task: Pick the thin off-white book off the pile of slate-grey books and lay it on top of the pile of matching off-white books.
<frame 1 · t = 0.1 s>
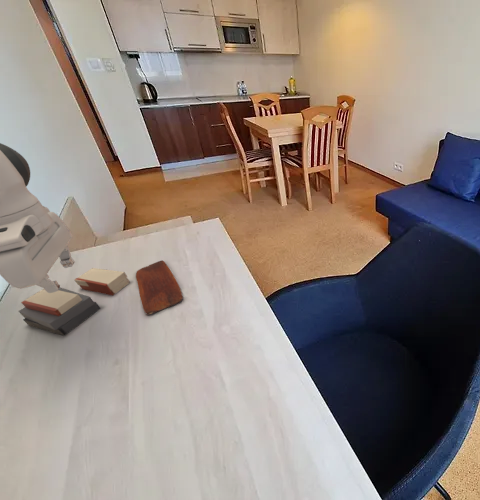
hand: (62, 277, 66), 19 cm above the table, tool pointing down, fingers open, 8 cm apart
white book: (54, 303, 81), point 5 cm above the table, touching grey book pile
grey book pile: (65, 316, 84), on the table
white book pile: (106, 285, 94), on the table
wooden tablet: (158, 285, 93), on the table
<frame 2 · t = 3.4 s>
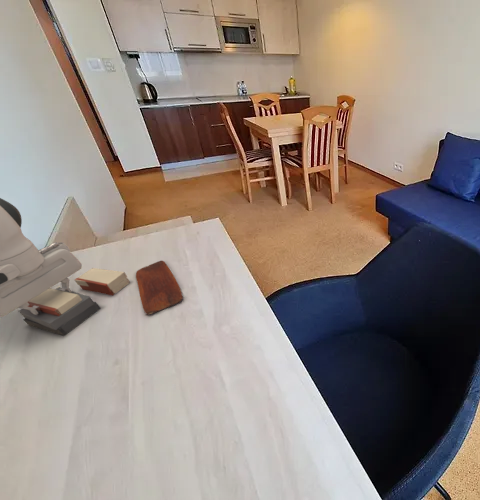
hand: (53, 302, 81), 5 cm above the table, tool pointing down, fingers closed on white book, 6 cm apart
white book: (54, 303, 81), point 5 cm above the table, touching grey book pile, gripper
everything else where it was.
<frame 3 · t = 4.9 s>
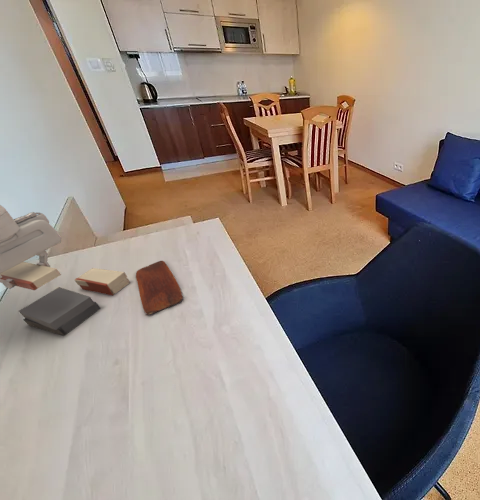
hand: (29, 277, 76), 14 cm above the table, tool pointing down, fingers closed on white book, 6 cm apart
white book: (31, 278, 76), point 14 cm above the table, touching gripper
everything else where it was.
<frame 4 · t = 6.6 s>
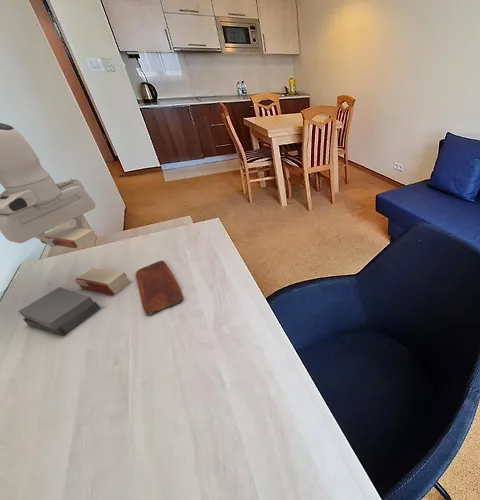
hand: (68, 238, 83), 18 cm above the table, tool pointing down, fingers closed on white book, 6 cm apart
white book: (70, 239, 83), point 18 cm above the table, touching gripper
everything else where it was.
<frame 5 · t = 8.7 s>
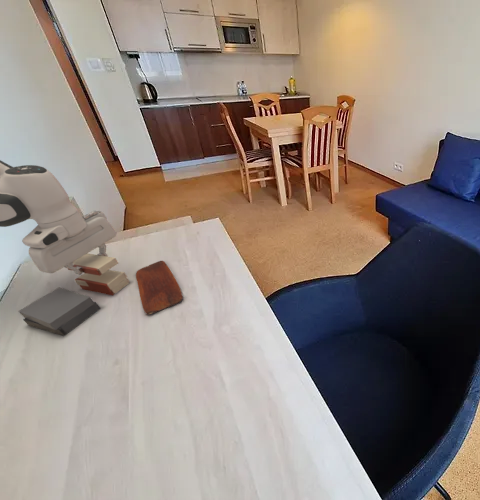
hand: (92, 265, 90), 8 cm above the table, tool pointing down, fingers closed on white book, 6 cm apart
white book: (93, 266, 90), point 7 cm above the table, touching gripper
everything else where it was.
when the fingers open (4 cm above the table, at t = 10.2 s): white book stays where it is, resting on white book pile.
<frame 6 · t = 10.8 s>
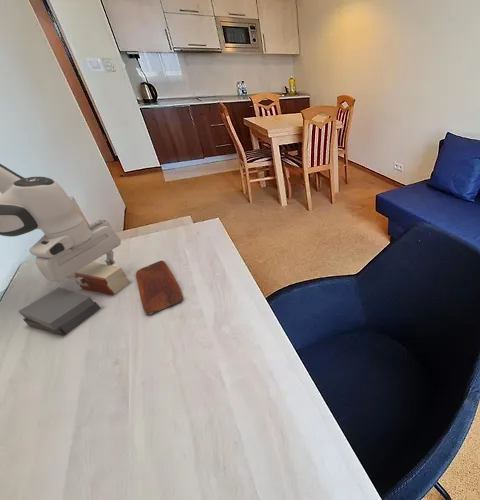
hand: (97, 273, 91), 5 cm above the table, tool pointing down, fingers open, 8 cm apart
white book: (99, 275, 92), point 4 cm above the table, touching white book pile
everything else where it was.
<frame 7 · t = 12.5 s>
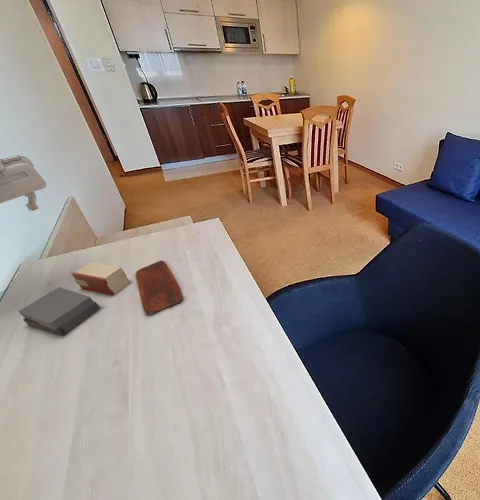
hand: (14, 217, 80), 25 cm above the table, tool pointing down, fingers open, 8 cm apart
nothing on the table moved.
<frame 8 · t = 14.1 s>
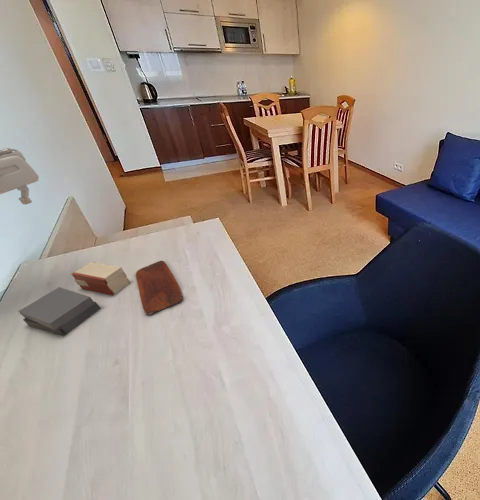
hand: (7, 211, 79), 27 cm above the table, tool pointing down, fingers open, 8 cm apart
nothing on the table moved.
at the end: white book 0.2 cm off-centre on the white book pile, point 4.0 cm above the white book pile's base; white book tilted 0° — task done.
